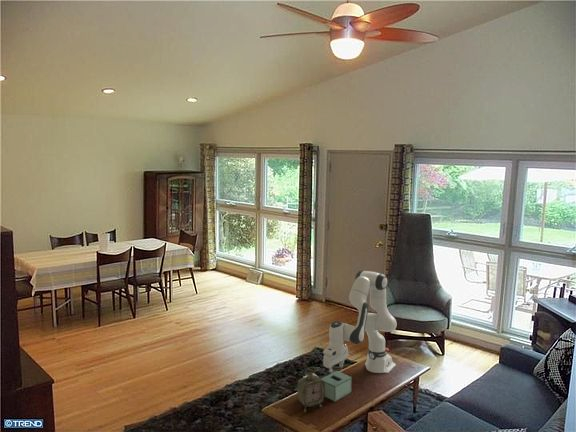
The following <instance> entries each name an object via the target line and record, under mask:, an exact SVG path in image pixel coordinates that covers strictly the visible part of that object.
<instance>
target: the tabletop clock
mask: <svg viewBox="0 0 576 432" xmlns="http://www.w3.org/2000/svg"><path fill="white" fill-rule="evenodd" d="M310 369H314V371H310V372H309V373H308V370H310ZM316 371H317V368H316V367H314V366H310V367H307V368H306V369H305V374H306V375H307V377H305V378H303V377H302V378H300V379H299V380H298V381H297V388H296V393H297V400H298V401H299V402H300V404H302V406H304V409H303V412H304V413H306V412H307V408H309V407H315V406H317V405H319V408H322V407H323V405H322V404H321V403H323V402H324V401H325V398H326V397H325V384H324V381H323V380H321V378H320V376H318V375H317V376H318V377H317V376H314V375H313V373H314V374H315V373H316Z"/></svg>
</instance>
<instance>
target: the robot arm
mask: <svg viewBox="0 0 576 432" xmlns="http://www.w3.org/2000/svg"><path fill="white" fill-rule="evenodd" d="M354 279H355V281H354V282H353V284H352V286H351V289H350V292H349V295H348V299H349V302H350V304H351V305H352V306H354V308H356V309H357V311H358V316H357V320H356V321H357V322H356V325H351V324H349V323H346V322H341V321H339V320H336V321H335V320H334V321H332V322H331V323H330V324H329V330H328V338H329V341H328V342H329V343H328V345H327V346H326V348H324V350H323V351H322V352H323V361H322V362H323V363H322V364H323V367H325V368H327V369H329V371H328V372H329V373H330V374H331V373H333V372H334V369H333V366H335V365H337V364H339V366H338V367H339V368H343V367H344V364H345V360H347V359H348V358H349V355H350V353H349V348H348V345H347V344H346V343H345V344H344V341H347V342H350V343H353V344H354V345H358V344H360V343H363V341H364V339H365V333H366V334H367V337H368V348H367V355H366V361H365V363H364V366H365V368H366V370H367V371H368V372H370V373H373V374H374V373H375V374H389V373H390V371H392V370H393V369H394V368H395V367H396V363H395V362H394V361H393V357H392V356H391V355H390V354H388V353H387V352H389V351H390V349H389V348H387V347H386V339H385V337H384V336H383V334H381V333H380V332H386V333H387V332H388V333H390V332H394V331H395V330H396V328H397V324H398V323H397V320H396V318H395V316H393V315H392V314H391V313H390V311H389V310H388V306H387V286H388V283H389V282H388V277H387V275H385V274H383V273H380V272H377V271H370V270H359V271H358V272H357V273H356V275H355V278H354ZM368 295H369V305H368V303H367V299H368ZM369 306H370V308H371V309H372V310H374V311H375V312H376V313H374V312H369Z"/></svg>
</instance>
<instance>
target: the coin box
mask: <svg viewBox="0 0 576 432" xmlns="http://www.w3.org/2000/svg"><path fill="white" fill-rule="evenodd" d="M320 379H321V380H323V381H324V384H325V397H324V398H326V399H329V400H330V401H332V402H334V403H336V402H337V401H339V400H341V399H343V398H344V397H346V396H348V395H350V394H351V393H352V381H353V380H352V376H349V375H347V374H345V373H343V372H341V371H338V370H336V371H333V372H332V373H331V372H330V373H329V374H328V375H325V376H323V377H322V378H320Z"/></svg>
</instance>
